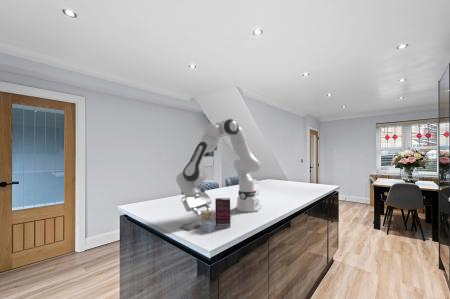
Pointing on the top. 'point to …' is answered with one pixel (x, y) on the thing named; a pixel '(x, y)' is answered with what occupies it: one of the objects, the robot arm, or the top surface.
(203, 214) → the oak block
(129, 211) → the top surface
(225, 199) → the supplement box
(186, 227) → the charcoal mat
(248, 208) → the robot arm
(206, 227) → the blue-grey cube
